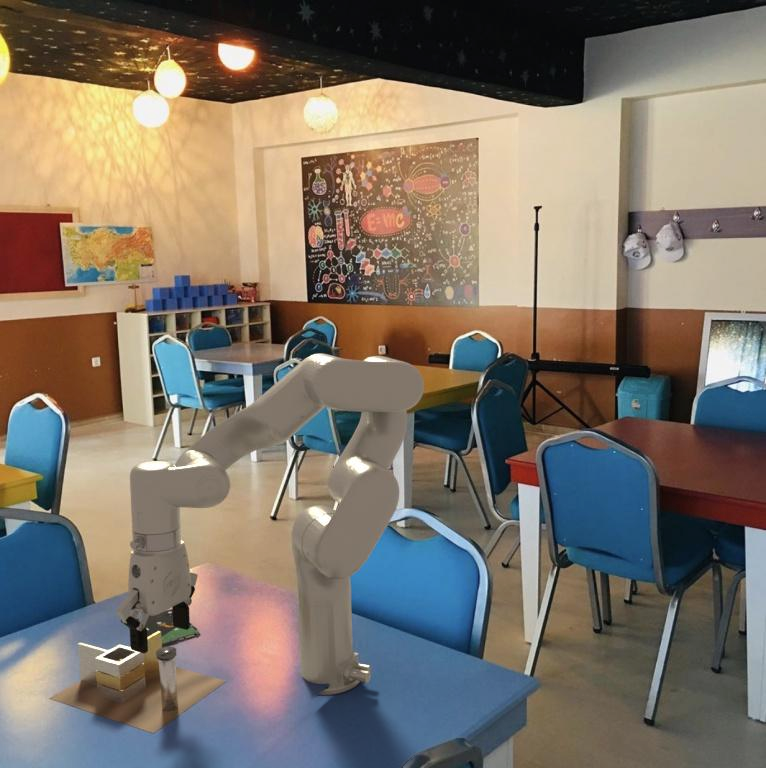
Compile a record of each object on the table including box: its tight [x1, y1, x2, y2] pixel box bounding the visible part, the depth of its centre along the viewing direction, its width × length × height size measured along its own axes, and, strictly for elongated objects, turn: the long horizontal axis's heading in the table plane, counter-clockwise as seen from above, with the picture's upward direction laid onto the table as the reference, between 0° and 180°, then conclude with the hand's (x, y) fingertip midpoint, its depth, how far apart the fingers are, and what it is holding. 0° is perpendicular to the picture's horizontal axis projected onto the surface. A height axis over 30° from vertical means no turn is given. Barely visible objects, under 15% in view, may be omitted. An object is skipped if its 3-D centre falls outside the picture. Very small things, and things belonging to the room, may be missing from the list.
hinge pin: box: [156, 645, 178, 712], centre depth 138 cm, size 3×3×10 cm
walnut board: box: [49, 666, 228, 734], centre depth 145 cm, size 24×18×2 cm
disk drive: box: [136, 608, 201, 648], centre depth 168 cm, size 10×3×15 cm
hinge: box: [77, 631, 163, 704], centre depth 148 cm, size 13×13×7 cm
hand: (161, 639), depth 136 cm, fingers open, 9 cm apart
